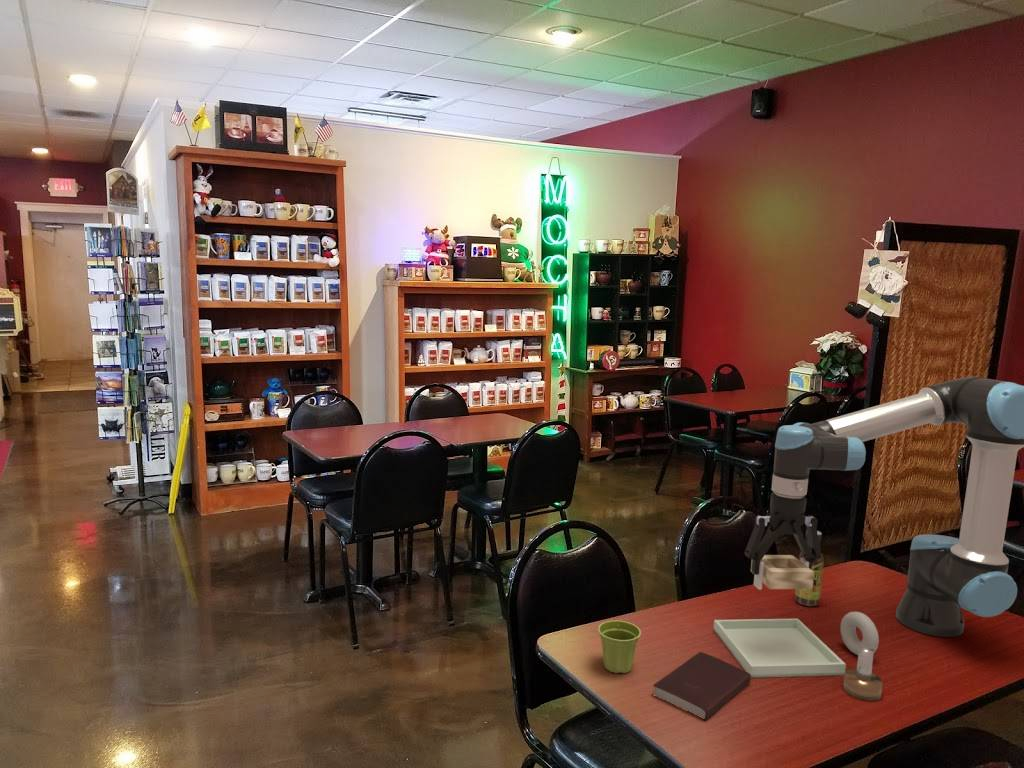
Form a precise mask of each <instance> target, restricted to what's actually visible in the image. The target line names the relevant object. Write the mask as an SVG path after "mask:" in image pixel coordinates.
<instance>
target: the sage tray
mask: <svg viewBox="0 0 1024 768" xmlns="http://www.w3.org/2000/svg"><path fill="white" fill-rule="evenodd" d="M713 621H714V622H713V631H714V632H715V633H716V635H717V636H718V637H719V639H720V640H721V642H722V643H723V644H724V646H726V648H727V649H728V650H729V652H730V653H731V654H732V656H733V657H734V659H736V661H737V662H738V664H739V665H740V666H741V667H742V668H743V670H744V671H746V672H748V673H750V675H751V678H788V677H789V678H791V677H822V676H823V677H826V676H829V677H830V676H845V671H846V668H847V664H846V662H844V661H843V660H842V659H841V658H840V657H839V656H838V655H837V654H836V653H835V652H834V651H833V650H831V648H830V647H828V646H827V645H826V644H825V642H823V641H822V640H821V639H820V638H819V637H818V636H817V635H816V634H815V633H814V632H812V630H811V629H810V628H808V627H807V626H806V625H805V624H804V623H803V622H802V621H801V620H800V619H799V618H759V619H758V618H756V619H755V618H753V619H748V618H747V619H714V620H713Z"/></svg>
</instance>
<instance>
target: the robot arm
mask: <svg viewBox="0 0 1024 768" xmlns="http://www.w3.org/2000/svg"><path fill="white" fill-rule="evenodd" d="M951 423H952V424H954V423H956V424H965V425H966V427H967V428H966V435H965V436H966V438H967V439H968V441H970V443H971V444H972V445H971V446H972V447H971V455H970V463H969V468H968V469H969V470H968V474H967V475H968V477H967V481H966V483H967V484H966V490H965V495H964V496H965V497H964V503H963V510H962V518H961V523H960V530H959V538H958V537H953V536H950V535H949V536H947V535H942V534H930V533H928V534H918V535H916V536H914V537H913V538H912V540H911V544H910V548H909V550H910V553H909V555H910V556H909V561H908V562H909V563H908V572H907V581H906V590H905V592H904V593H903V595H902V597H901V599H900V601H899V603H898V605H897V606H896V611H895V619H896V620H897V621H898V622H899V623H900V624H902V625H903V626H905V627H907V628H908V629H911V630H913V631H915V632H918V633H922V634H926V635H929V636H934V637H941V638H954V637H959V636H961V635H963V633H964V632H965V631H964V630H965V619H964V617H963V612H962V610H965V611H967V612H971V613H972V614H973V615H975V616H978V617H983V618H992V617H996V616H999V615H1001V614H1003V613H1004V611H1007V610H1008V609H1010V608H1011V606H1012V605H1013V604H1014V603H1015V600H1016V599H1017V596H1018V595H1017V594H1018V586H1017V583H1016V582H1015V580H1014V578H1013V577H1012V576H1011V575H1009V574H1008V571H1009V565H1010V564H1009V563H1010V560H1009V558H1008V557H1007V556H1006V554H1005V553H1004V552H1003V550H1004V549H1003V548H1004V541H1005V536H1006V535H1005V534H1006V531H1007V530H1006V529H1007V523H1008V517H1009V508H1010V504H1011V503H1010V502H1011V497H1012V489H1013V482H1014V477H1015V471H1016V470H1015V469H1016V463H1017V458H1018V452H1019V451H1020V450H1021V449H1022V448H1024V385H1021V384H1018V383H1016V382H1011V381H1004V380H997V379H993V378H992V379H991V378H985V377H980V376H966V377H960V378H959V377H958V378H955V379H951V380H947V381H944V382H939V383H936V384H933V385H930V386H929V385H928V386H925V387H923V388H921V389H920V390H919V391H918V393H916V394H913V395H909V396H906V397H902V398H899V399H896V400H892V401H889V402H884V403H880V404H878V405H875V406H871V407H867V408H864V409H863V408H862V409H860V410H857V411H853V412H850V413H846V414H843V415H840V416H836V417H832V418H828V419H826V420H821V421H817V422H814V423H808V422H796V423H794V424H791V425H790V424H789V425H786V424H785V425H782V426H780V427H778V429H777V433H776V437H775V438H776V439H775V443H774V448H775V449H774V460H773V461H774V462H773V463H774V464H773V472H772V478H771V479H772V480H771V490H772V492H771V494H770V501H769V503H770V504H769V513H768V514H767V515H765V516H763V515H762V516H761V515H759V514H757V515H755V518H754V519H755V520H754V521H755V523H754V526H753V529H752V531H751V535H750V537H749V540H748V543H747V545H746V547H745V550H744V555H745V556H746V557H747V558H748V559H750V560H751V561H752V569H751V568H750V571H751V570H752V572H753V573H754V574H753V573H752V572H751V573H752V574H753V575H754V576H753V586H754V587H755V588H756V589H757V590H763V582H762V581H763V570H764V562H763V561H762V558H763V557H764V555H767V552H768V551H769V549H770V548H771V546H772V545H773V544H774V543H775V541H776V539H778V538H779V537H780V535H781V536H784V535H789V536H792V535H793V536H794V539H795V540H796V541H795V542H796V544H797V545H798V548H799V550H800V552H802V554H803V556H804V558H800V561H801V562H802V563H803V564H804V565H806V566H807V567H808V568H810V569H811V570H812V563H815V561H816V560H815V559H821V557H822V556H821V554H822V550H821V544H820V545H819V540H818V535H817V531H818V529H817V528H818V527H817V526H818V519H817V518H816V517H814V516H813V515H810V514H809V515H807V516H806V515H805V512H806V507H807V498H806V495H807V493H808V485H809V475H810V470H821V471H822V470H823V471H825V470H826V471H828V470H829V471H843V472H846V471H858V470H859V469H861V468H862V467H863V466H864V464H865V461H866V455H867V451H866V446H865V444H864V442H867V441H870V440H874V439H878V438H882V437H885V436H888V435H892V434H895V433H900V432H903V431H906V430H909V429H913V428H917V427H920V426H924V425H929V424H930V425H933V426H940V425H944V424H951ZM768 523H769V524H770V525H769V526H768ZM803 525H805V527H806V531H807V534H808V539H809V544H810V549H809V547H808V545H807V543H806V538H805V537H804V533H803V532H802V529H801V527H802V526H803ZM767 526H768V527H767ZM765 527H767V529H765ZM765 530H766V533H765V534H764V532H765ZM763 535H764V536H763ZM762 537H763V538H762ZM810 550H811V552H810ZM803 590H806V589H803Z"/></svg>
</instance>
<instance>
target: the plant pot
mask: <svg viewBox="0 0 1024 768" xmlns="http://www.w3.org/2000/svg"><path fill="white" fill-rule="evenodd" d="M597 627H598V628H597V632H598V634H599V636H600V639H601V647H602V648H601V649H602V658H603V666H604V668H605V670H607V671H608V670H609V672H611V673H613V672H614V673H613V674H618V673H622V674H626V673H629V672H630V671H631V670H632V668H633V663H634V658H635V653H636V648H637V644H638V641H639V638H640V637H641V636H642V635H641V634H642V631H641V629H640V628H639V626H637V625H635V624H634V623H632V622H628V621H624V620H616V619H615V620H608V621H604V622H602V623H600V624H599V625H598V626H597Z"/></svg>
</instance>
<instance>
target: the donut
mask: <svg viewBox="0 0 1024 768" xmlns="http://www.w3.org/2000/svg"><path fill="white" fill-rule="evenodd" d="M857 628H858V629H859V630H860V632H861V635H862V639H861V640H860V639H859V637H858V635H857V630H856V629H857ZM877 629H878V628H877V627H876V625H875V623H874V622H873V621H872V619H871V618H870V617H869V616H868V615H866V614H865V613H862V612H860V611H850V612H848V613H846V614H844V616H843V618H842V619H841V622H840V635H841V638H842V641H843V643H844V645H845V646H846V647H847V649H848V650H849V651H850V652H851V653H853V654H854V655H857V656H858V653H859V647H860V646H868V647H870V648H872V649H873V650H874V653H875V652H876V651H877V649H878V646H879V644H880V642H879V641H880V639H879V632H878V630H877Z"/></svg>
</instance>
